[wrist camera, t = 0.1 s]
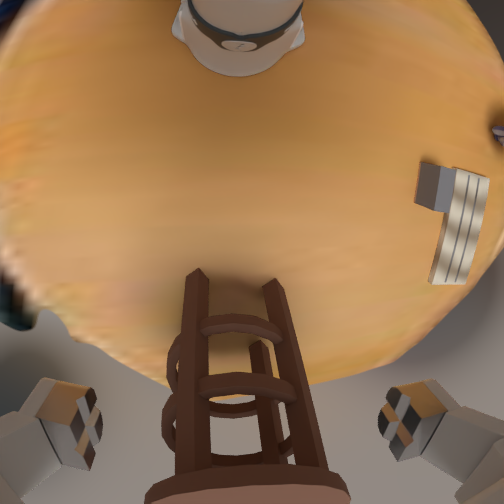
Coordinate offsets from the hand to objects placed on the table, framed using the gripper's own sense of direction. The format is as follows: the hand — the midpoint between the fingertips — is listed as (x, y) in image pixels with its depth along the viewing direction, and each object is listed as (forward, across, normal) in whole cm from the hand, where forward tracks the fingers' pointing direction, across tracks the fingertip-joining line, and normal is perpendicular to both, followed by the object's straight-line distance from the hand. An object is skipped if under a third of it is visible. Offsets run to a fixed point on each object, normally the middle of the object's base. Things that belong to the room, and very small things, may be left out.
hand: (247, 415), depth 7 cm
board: (+39, -44, -1) cm, 59 cm away
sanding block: (+38, -33, -8) cm, 51 cm away
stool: (+41, -2, +17) cm, 44 cm away
